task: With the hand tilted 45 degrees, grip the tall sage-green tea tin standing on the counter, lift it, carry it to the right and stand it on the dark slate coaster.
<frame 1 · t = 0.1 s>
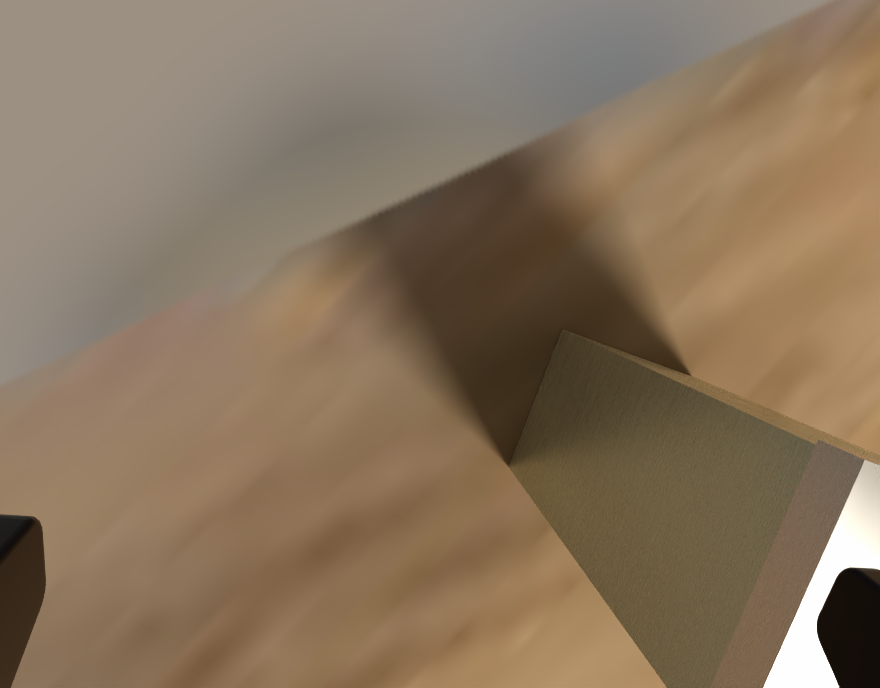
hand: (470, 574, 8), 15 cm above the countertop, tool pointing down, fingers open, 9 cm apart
sage tea tin: (601, 421, 25), on the countertop
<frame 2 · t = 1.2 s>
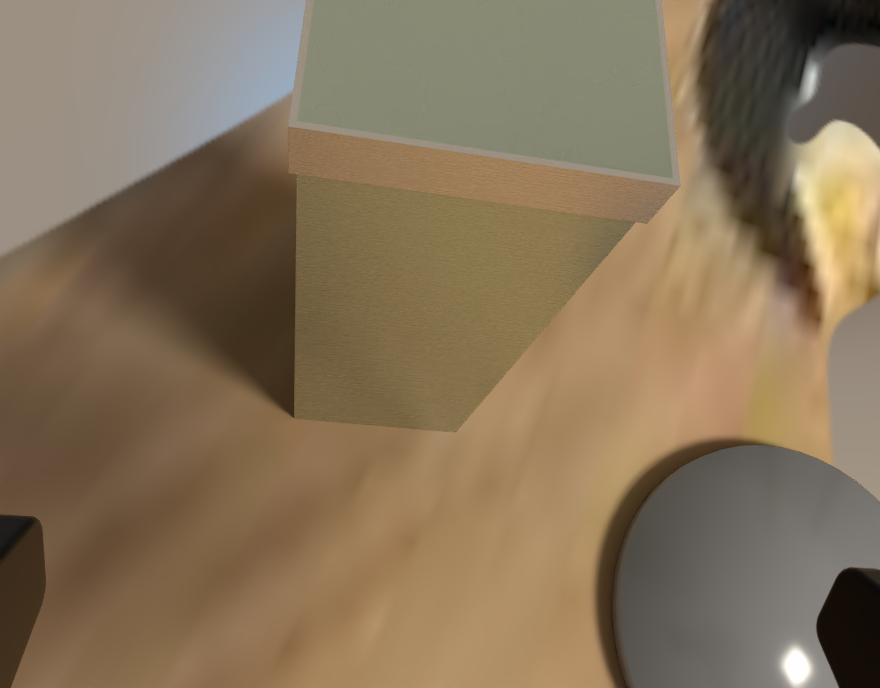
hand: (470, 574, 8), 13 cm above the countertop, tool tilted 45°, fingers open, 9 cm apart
slate coaster: (779, 623, 22), on the countertop
sage tea tin: (381, 349, 23), on the countertop
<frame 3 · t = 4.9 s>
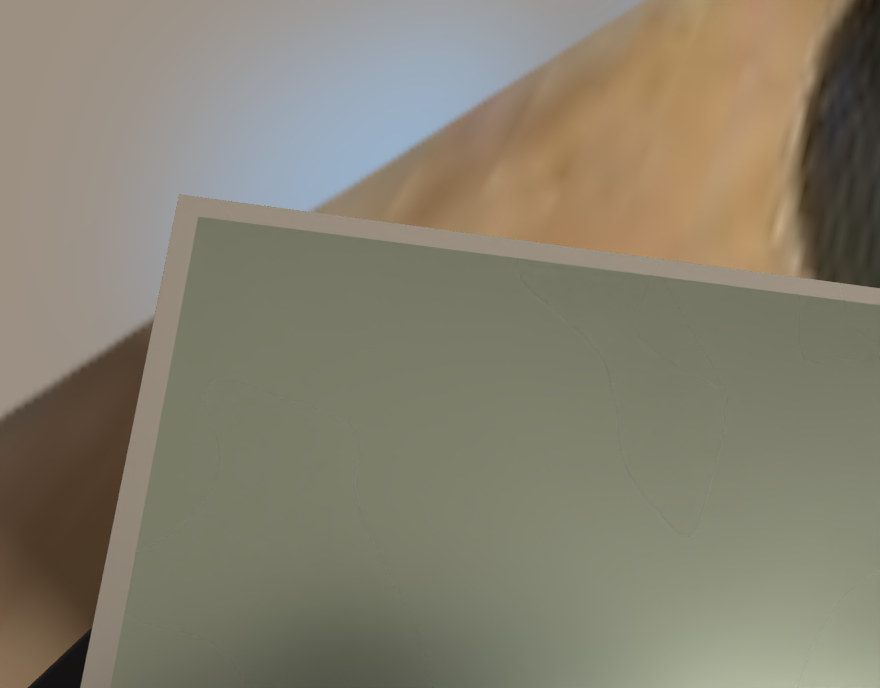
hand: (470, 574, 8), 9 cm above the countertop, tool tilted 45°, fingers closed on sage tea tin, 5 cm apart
sage tea tin: (376, 658, 16), on the countertop, touching gripper
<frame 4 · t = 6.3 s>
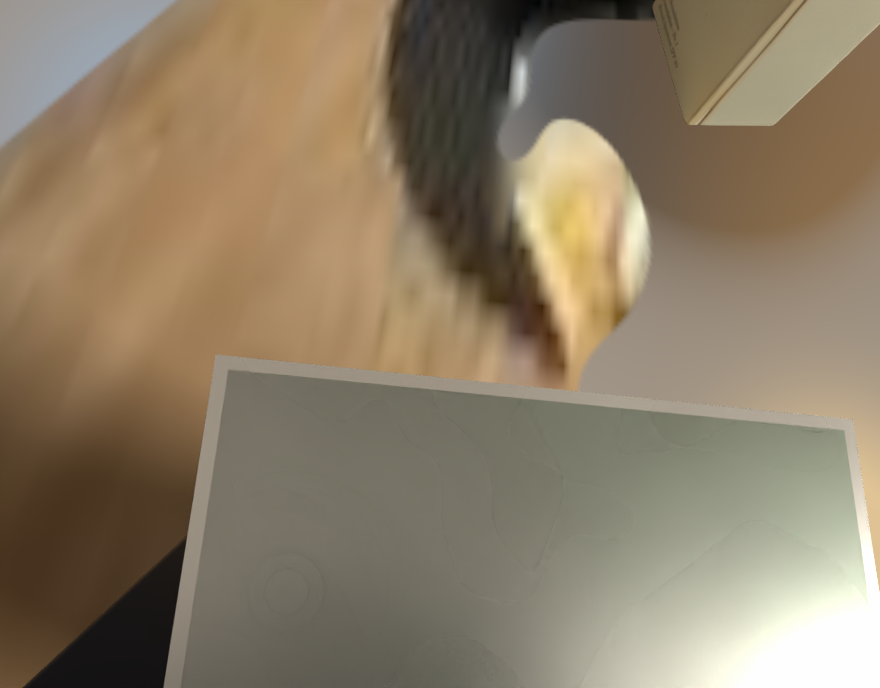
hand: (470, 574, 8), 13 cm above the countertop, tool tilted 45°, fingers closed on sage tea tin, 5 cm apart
skincare box 2: (711, 72, 30), on the countertop
sage tea tin: (360, 638, 18), point 2 cm above the countertop, touching gripper
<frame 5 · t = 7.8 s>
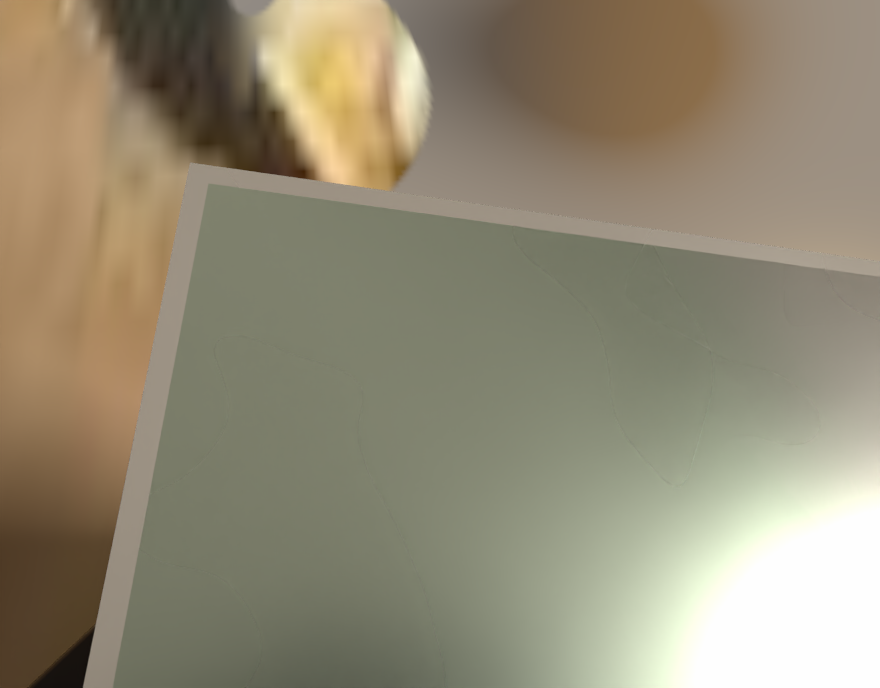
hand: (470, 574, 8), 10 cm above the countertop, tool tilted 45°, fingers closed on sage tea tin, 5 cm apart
sage tea tin: (375, 659, 16), point 1 cm above the countertop, touching gripper, slate coaster
when the fingers open (9 cm above the countertop, at t = 8.3 s): sage tea tin stays where it is, resting on slate coaster.
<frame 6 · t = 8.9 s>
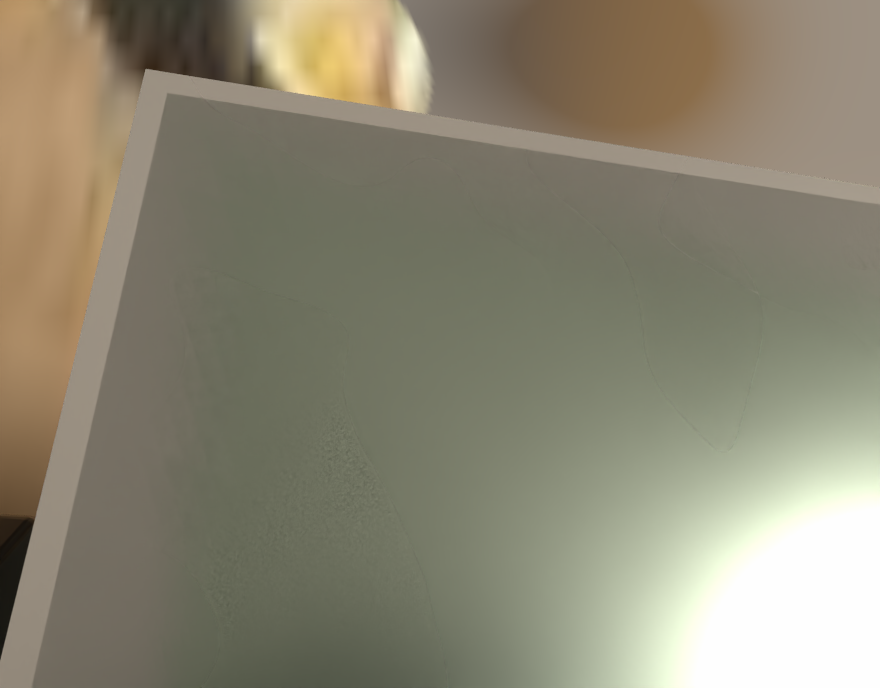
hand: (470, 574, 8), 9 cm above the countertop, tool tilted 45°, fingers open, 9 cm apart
sage tea tin: (374, 656, 15), point 1 cm above the countertop, touching slate coaster
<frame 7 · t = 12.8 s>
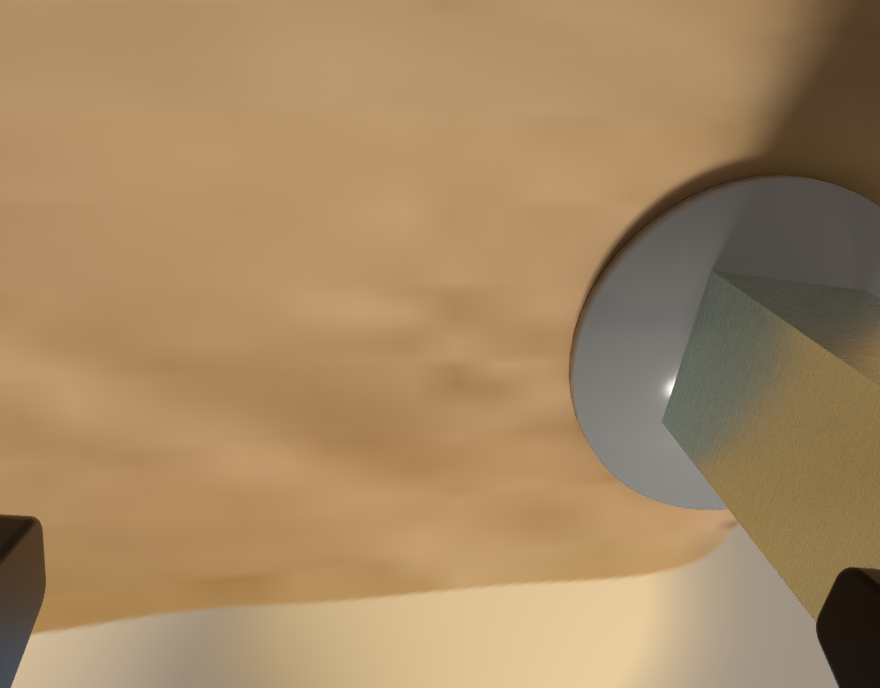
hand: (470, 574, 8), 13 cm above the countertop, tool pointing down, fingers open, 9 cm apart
slate coaster: (741, 352, 22), on the countertop
sage tea tin: (761, 358, 22), point 1 cm above the countertop, touching slate coaster
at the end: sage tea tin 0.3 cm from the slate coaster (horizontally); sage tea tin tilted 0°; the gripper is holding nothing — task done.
